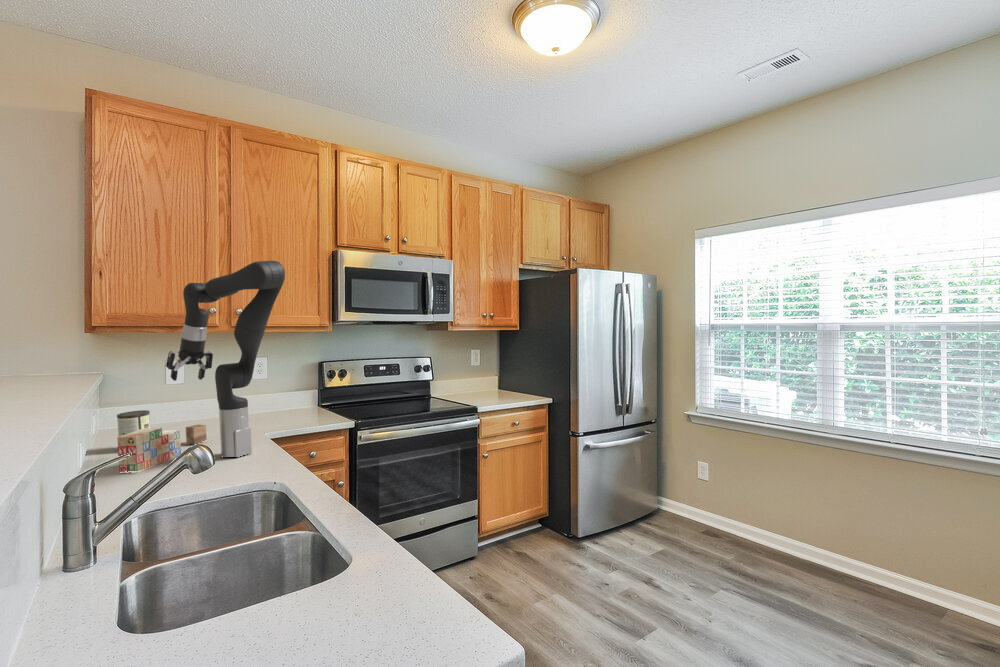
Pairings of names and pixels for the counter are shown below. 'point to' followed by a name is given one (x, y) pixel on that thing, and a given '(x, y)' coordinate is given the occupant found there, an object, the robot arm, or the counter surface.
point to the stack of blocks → (147, 448)
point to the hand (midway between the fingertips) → (187, 379)
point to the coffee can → (132, 421)
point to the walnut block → (195, 434)
